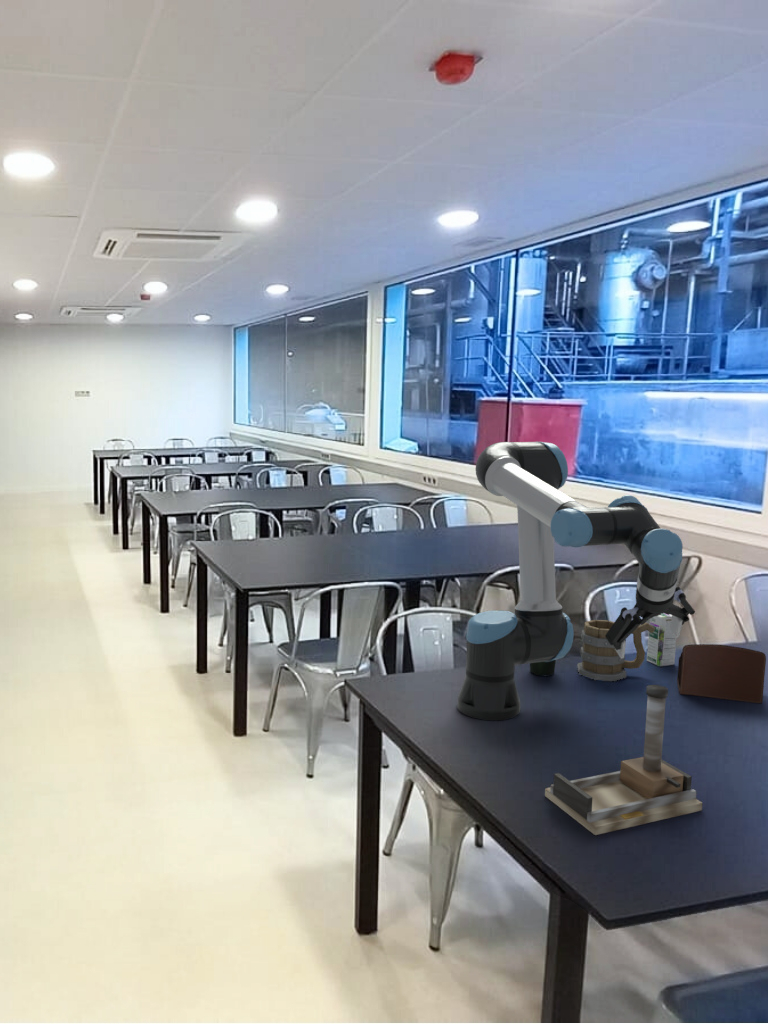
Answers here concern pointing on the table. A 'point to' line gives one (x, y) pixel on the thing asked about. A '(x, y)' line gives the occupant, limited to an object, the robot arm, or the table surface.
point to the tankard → (607, 652)
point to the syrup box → (661, 641)
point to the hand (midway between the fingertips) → (647, 643)
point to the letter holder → (722, 672)
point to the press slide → (652, 754)
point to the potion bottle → (543, 667)
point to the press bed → (618, 802)
